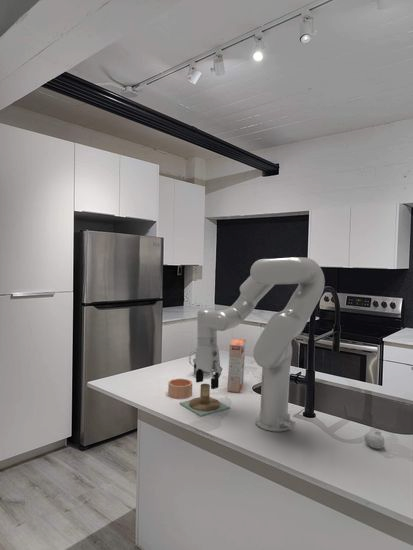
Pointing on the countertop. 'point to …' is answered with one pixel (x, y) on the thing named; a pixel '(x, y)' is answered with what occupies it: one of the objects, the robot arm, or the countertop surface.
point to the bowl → (180, 388)
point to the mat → (203, 413)
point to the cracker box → (236, 365)
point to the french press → (205, 374)
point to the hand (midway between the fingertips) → (206, 385)
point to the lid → (204, 400)
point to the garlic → (374, 440)
